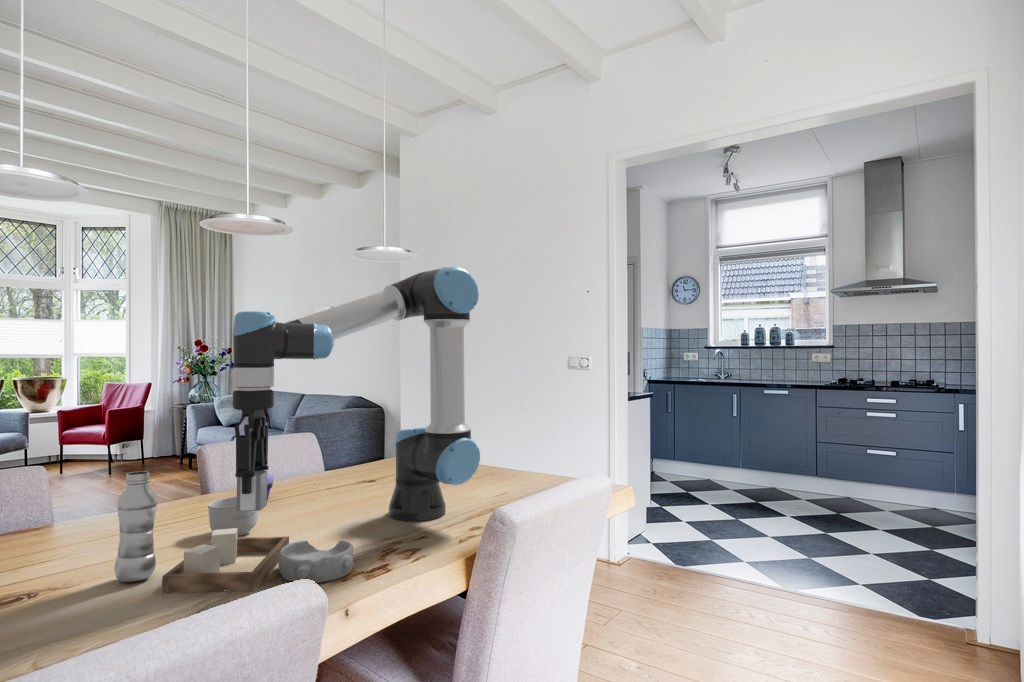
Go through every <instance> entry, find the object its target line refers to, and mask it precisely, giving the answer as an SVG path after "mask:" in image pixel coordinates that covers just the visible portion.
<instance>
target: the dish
mask: <svg viewBox="0 0 1024 682" xmlns="http://www.w3.org/2000/svg"><path fill="white" fill-rule="evenodd" d="M354 554H355V553H354V545H353V544H352V543H351V542H350V541H347V540H344V539H341V540H339V541H338V543H336V545H335V546H333V548H330V549H329V550H328V549H326V550H320V549H318V548H316V547H314V546H313V545H312V544H311V543H309V541H308V540H307V539H302V540H297V541H293V542H289V544H288V545H286V546H285V547H283V548H282V549H281V551H280V555H279V563H278V570H279V573H280V576H281V577H282V578H283V579H284V580H286V581H289V582H292V581H295V580H300V579H310V580H313V581H315V582H316V583H315V584H319V583H320V584H321V583H325V582H330V581H334V580H338V579H341V578H343V577H346V576H347V575H349V573H351V571H352V570H353V566H354V560H355V558H354V556H355V555H354Z"/></svg>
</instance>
